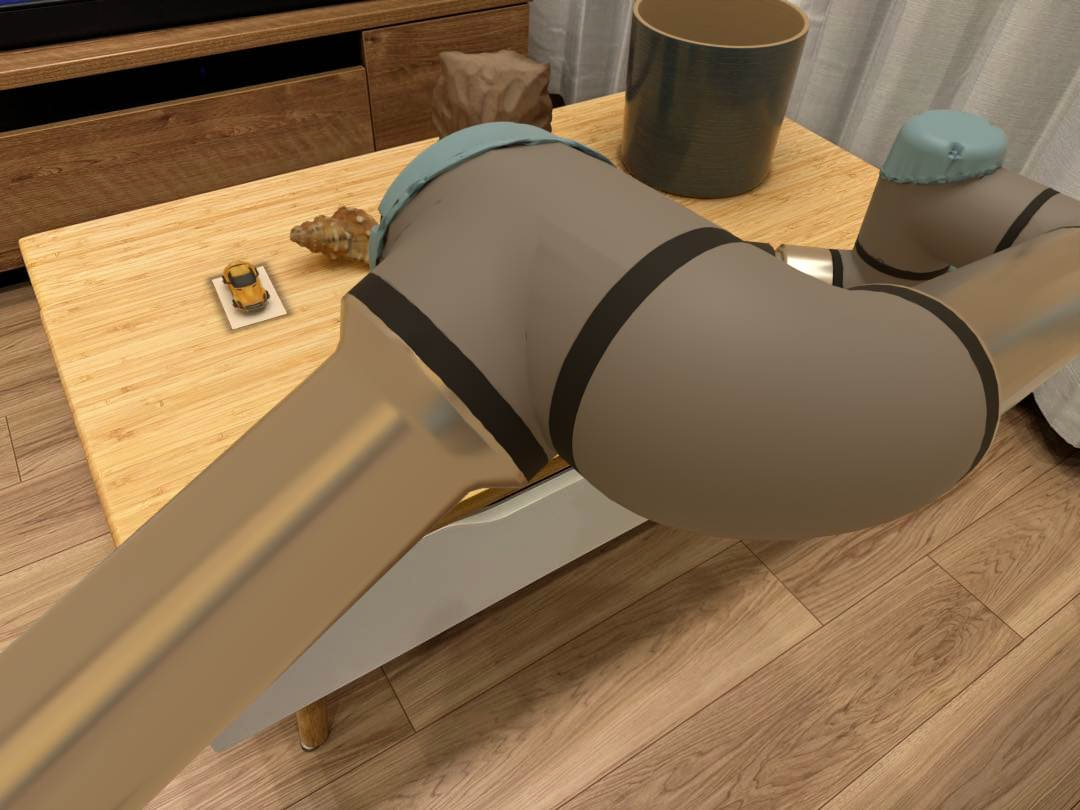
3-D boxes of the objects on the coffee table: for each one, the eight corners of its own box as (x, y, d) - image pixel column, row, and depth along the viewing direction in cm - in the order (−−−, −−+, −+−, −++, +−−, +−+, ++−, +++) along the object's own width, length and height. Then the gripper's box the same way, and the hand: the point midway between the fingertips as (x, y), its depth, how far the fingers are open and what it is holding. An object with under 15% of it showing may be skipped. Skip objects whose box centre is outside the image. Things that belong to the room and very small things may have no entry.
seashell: (360, 304, 93) (304, 250, 85) (330, 280, 98) (275, 227, 90) (412, 248, 94) (362, 189, 86) (380, 227, 99) (330, 171, 91)
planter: (750, 124, 121) (783, -16, 107) (789, 200, 106) (833, 48, 91) (609, 124, 120) (622, -18, 105) (628, 201, 104) (646, 47, 90)
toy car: (237, 318, 85) (232, 301, 83) (219, 276, 90) (214, 259, 88) (275, 307, 86) (270, 290, 84) (255, 267, 91) (250, 250, 90)
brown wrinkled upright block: (427, 208, 102) (414, 52, 88) (508, 181, 107) (507, 30, 93) (479, 255, 95) (473, 93, 81) (562, 224, 100) (570, 67, 86)
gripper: (771, 419, 62) (506, 392, 63) (748, 243, 79) (541, 224, 80) (796, 348, 56) (506, 319, 58) (766, 176, 74) (544, 157, 75)
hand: (526, 264), depth 69 cm, fingers open, 13 cm apart
